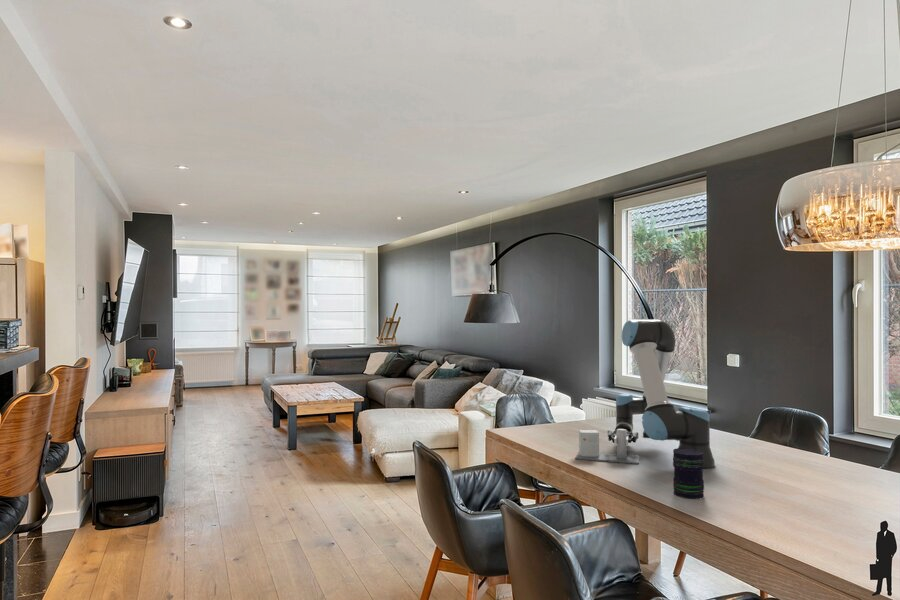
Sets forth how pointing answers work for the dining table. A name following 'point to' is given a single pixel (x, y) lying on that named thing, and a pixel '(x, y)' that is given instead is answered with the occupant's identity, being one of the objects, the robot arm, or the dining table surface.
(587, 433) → the small box
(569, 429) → the dining table surface
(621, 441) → the base plate with uprights
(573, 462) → the dining table surface
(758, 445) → the dining table surface
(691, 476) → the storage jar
